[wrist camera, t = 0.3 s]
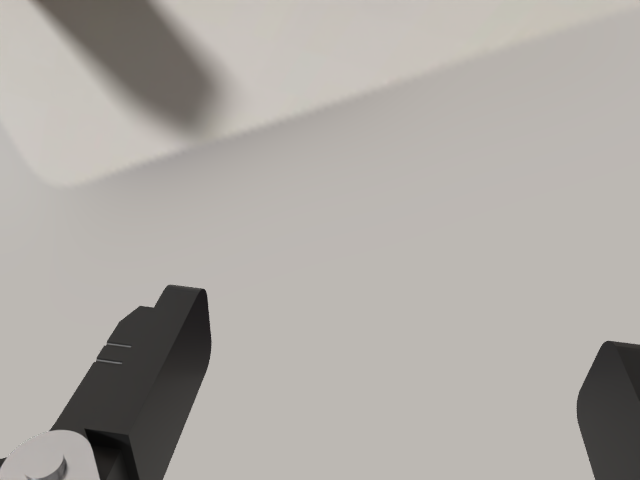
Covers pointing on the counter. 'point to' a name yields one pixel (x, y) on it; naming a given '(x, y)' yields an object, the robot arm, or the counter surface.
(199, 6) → the counter surface
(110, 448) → the robot arm
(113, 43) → the counter surface
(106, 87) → the counter surface
